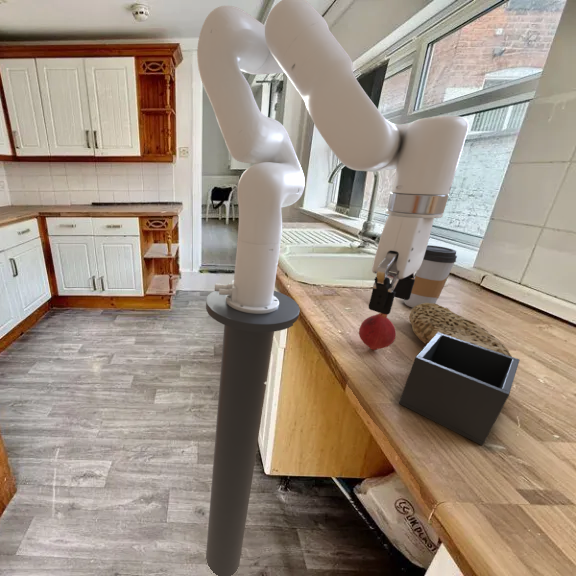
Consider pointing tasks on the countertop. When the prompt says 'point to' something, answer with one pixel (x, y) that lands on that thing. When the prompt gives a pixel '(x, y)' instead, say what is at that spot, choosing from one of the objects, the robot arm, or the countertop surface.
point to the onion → (377, 331)
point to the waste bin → (459, 385)
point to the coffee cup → (431, 275)
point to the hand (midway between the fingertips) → (389, 304)
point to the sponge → (451, 327)
